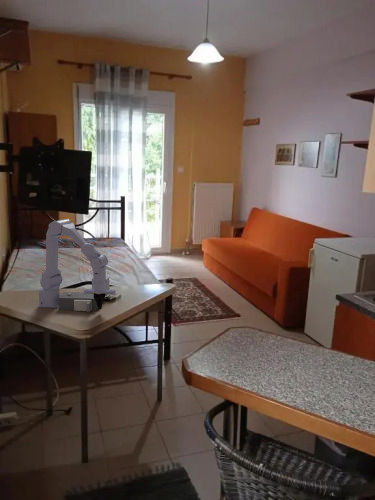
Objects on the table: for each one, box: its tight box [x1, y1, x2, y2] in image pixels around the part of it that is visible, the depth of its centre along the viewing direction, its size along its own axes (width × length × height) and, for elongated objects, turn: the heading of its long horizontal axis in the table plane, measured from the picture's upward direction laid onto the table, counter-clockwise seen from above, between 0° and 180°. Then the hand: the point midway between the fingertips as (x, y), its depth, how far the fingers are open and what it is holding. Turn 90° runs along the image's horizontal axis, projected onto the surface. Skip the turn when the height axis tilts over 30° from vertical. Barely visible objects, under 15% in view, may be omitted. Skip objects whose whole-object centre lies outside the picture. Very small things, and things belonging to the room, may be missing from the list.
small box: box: [91, 276, 111, 296], centre depth 215 cm, size 8×6×10 cm
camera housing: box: [58, 291, 98, 312], centre depth 199 cm, size 19×9×7 cm, turn 90°
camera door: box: [73, 300, 93, 313], centre depth 192 cm, size 8×4×5 cm, turn 90°
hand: (100, 308), depth 191 cm, fingers closed
